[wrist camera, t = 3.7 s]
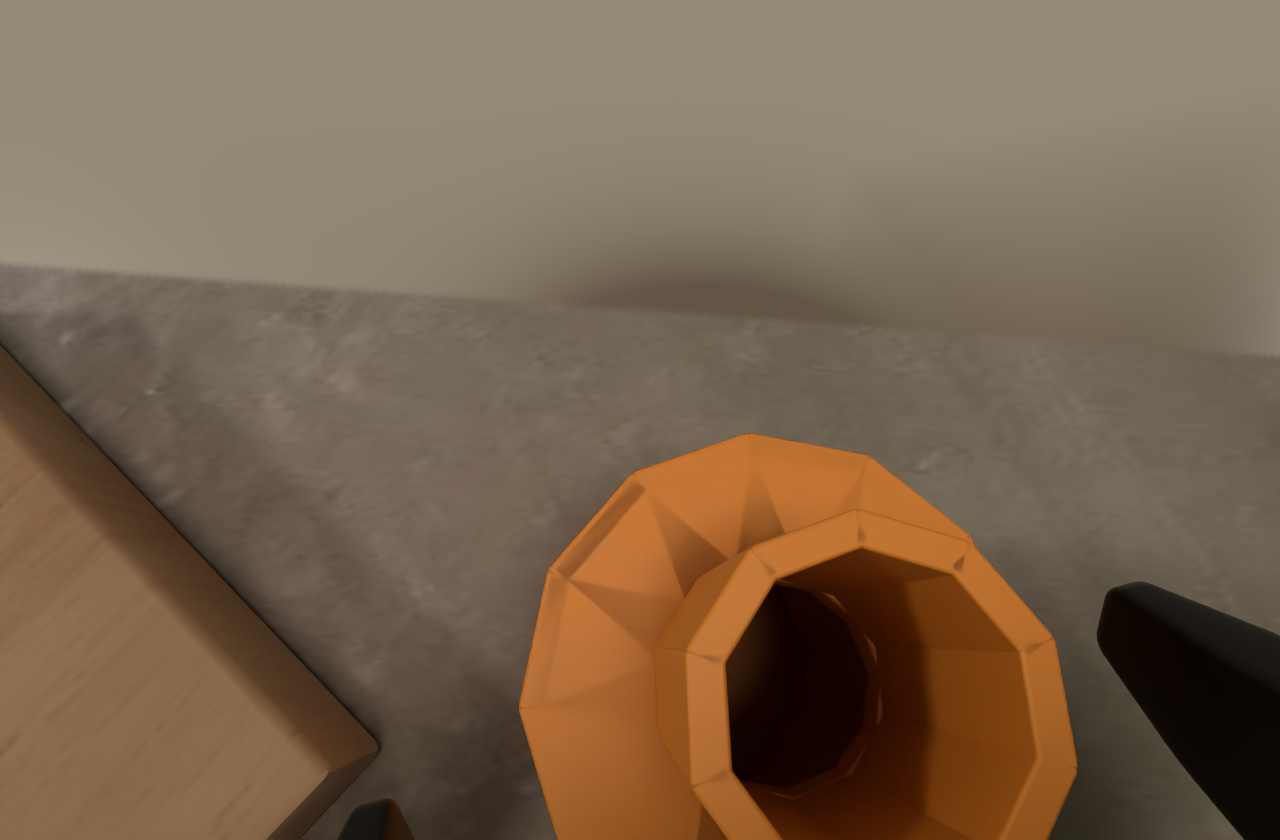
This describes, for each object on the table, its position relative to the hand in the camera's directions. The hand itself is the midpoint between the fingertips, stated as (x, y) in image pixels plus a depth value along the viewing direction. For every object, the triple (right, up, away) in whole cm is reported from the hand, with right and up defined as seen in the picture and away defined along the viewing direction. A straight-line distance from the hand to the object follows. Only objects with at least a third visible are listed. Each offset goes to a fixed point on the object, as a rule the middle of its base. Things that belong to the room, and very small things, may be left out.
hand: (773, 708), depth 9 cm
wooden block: (-9, -6, +5) cm, 11 cm away
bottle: (-1, -2, +8) cm, 8 cm away
